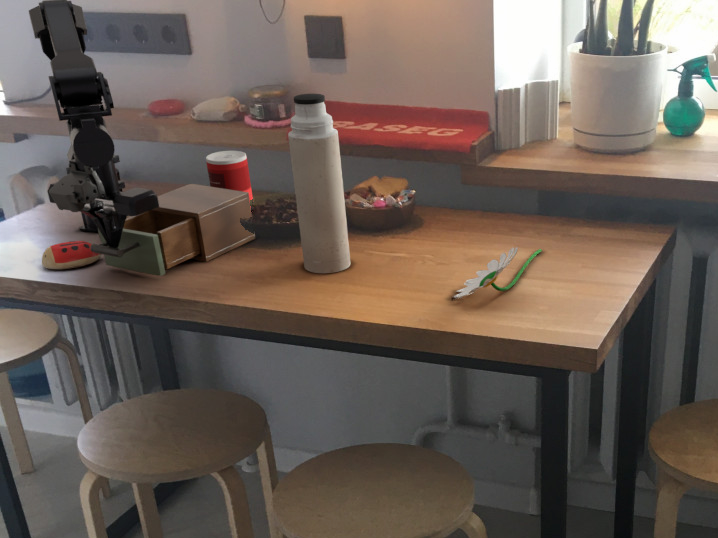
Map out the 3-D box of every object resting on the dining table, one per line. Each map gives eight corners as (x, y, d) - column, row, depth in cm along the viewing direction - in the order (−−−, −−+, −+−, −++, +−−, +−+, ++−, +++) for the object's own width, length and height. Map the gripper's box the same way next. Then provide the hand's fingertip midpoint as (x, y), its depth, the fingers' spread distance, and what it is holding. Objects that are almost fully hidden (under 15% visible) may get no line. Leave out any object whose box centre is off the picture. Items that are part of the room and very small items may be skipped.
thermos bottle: (317, 255, 180) (298, 88, 164) (358, 260, 177) (342, 91, 162) (296, 270, 173) (274, 99, 158) (337, 275, 171) (319, 101, 156)
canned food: (259, 206, 205) (251, 150, 199) (247, 218, 198) (238, 161, 192) (222, 205, 205) (213, 150, 199) (209, 217, 199) (199, 160, 193)
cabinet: (206, 261, 178) (198, 213, 173) (148, 250, 183) (138, 203, 178) (255, 238, 188) (248, 192, 183) (198, 228, 193) (190, 183, 188)
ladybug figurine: (41, 262, 178) (35, 243, 177) (99, 253, 182) (94, 234, 180) (45, 274, 173) (40, 254, 171) (105, 264, 177) (100, 245, 175)
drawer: (138, 286, 166) (129, 246, 162) (83, 275, 171) (73, 235, 167) (210, 253, 179) (203, 215, 175) (157, 243, 184) (149, 206, 180)
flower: (562, 219, 176) (498, 255, 151) (576, 247, 177) (515, 288, 152) (501, 253, 182) (430, 293, 157) (515, 280, 183) (448, 324, 158)
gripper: (9, 157, 156) (35, 255, 165) (97, 171, 149) (120, 272, 157) (64, 141, 165) (87, 234, 173) (151, 153, 157) (170, 250, 166)
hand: (114, 248), depth 167 cm, fingers closed
